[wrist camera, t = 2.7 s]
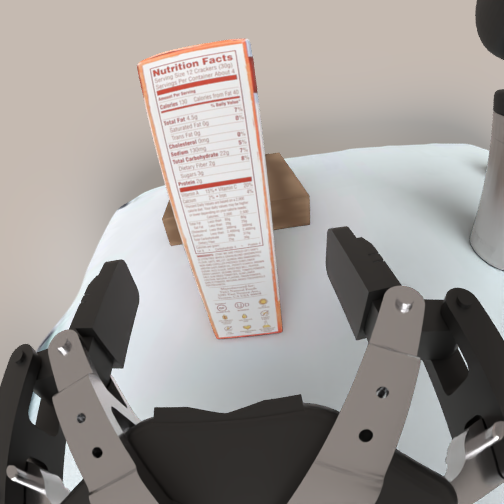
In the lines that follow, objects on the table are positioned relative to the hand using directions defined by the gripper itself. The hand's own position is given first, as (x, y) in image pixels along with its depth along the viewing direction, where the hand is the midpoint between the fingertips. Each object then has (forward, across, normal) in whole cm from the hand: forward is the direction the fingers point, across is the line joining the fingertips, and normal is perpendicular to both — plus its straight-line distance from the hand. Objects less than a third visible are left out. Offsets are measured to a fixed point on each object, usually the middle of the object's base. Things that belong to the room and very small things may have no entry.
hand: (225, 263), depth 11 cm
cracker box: (+12, 0, +12) cm, 17 cm away
